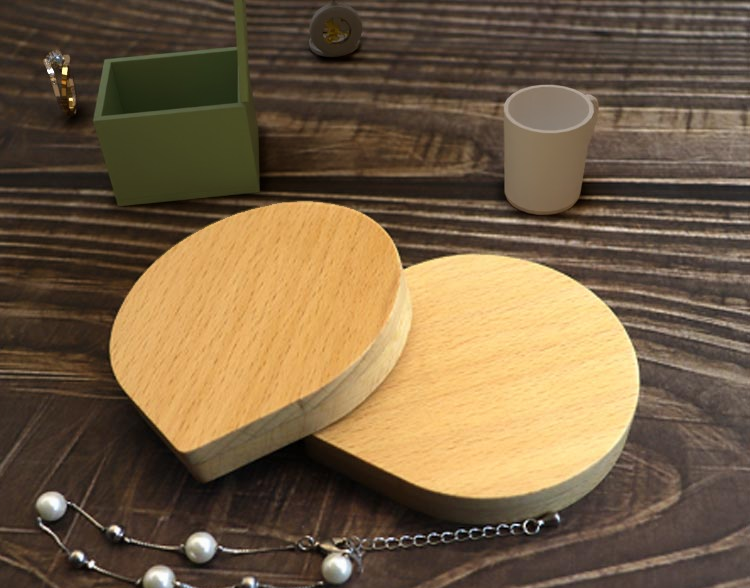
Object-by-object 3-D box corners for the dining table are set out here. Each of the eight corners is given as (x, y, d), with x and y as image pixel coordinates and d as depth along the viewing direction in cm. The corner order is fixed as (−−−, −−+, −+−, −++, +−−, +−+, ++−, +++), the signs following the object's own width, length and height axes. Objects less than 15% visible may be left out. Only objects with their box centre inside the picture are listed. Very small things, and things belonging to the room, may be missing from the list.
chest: (117, 206, 111) (92, 120, 103) (126, 142, 120) (104, 59, 112) (259, 192, 112) (245, 106, 104) (258, 129, 120) (245, 45, 113)
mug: (535, 229, 105) (541, 143, 97) (483, 187, 110) (485, 103, 103) (616, 191, 108) (628, 106, 101) (562, 152, 114) (570, 69, 106)
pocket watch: (337, 29, 136) (331, -44, 129) (379, 50, 132) (375, -25, 124) (290, 52, 133) (281, -22, 125) (332, 75, 128) (325, -1, 121)
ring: (65, 99, 128) (46, 40, 122) (90, 97, 128) (73, 38, 122) (55, 130, 123) (35, 70, 117) (81, 128, 123) (63, 68, 117)
